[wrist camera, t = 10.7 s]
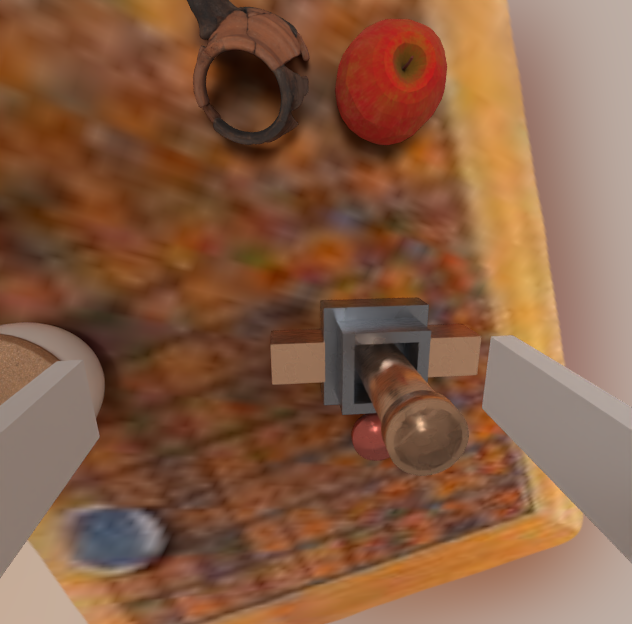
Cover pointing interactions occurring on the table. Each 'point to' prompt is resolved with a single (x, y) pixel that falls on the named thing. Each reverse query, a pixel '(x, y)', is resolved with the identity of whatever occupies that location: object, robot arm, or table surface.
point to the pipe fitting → (410, 412)
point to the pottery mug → (256, 38)
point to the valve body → (369, 328)
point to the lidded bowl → (43, 357)
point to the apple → (391, 80)
